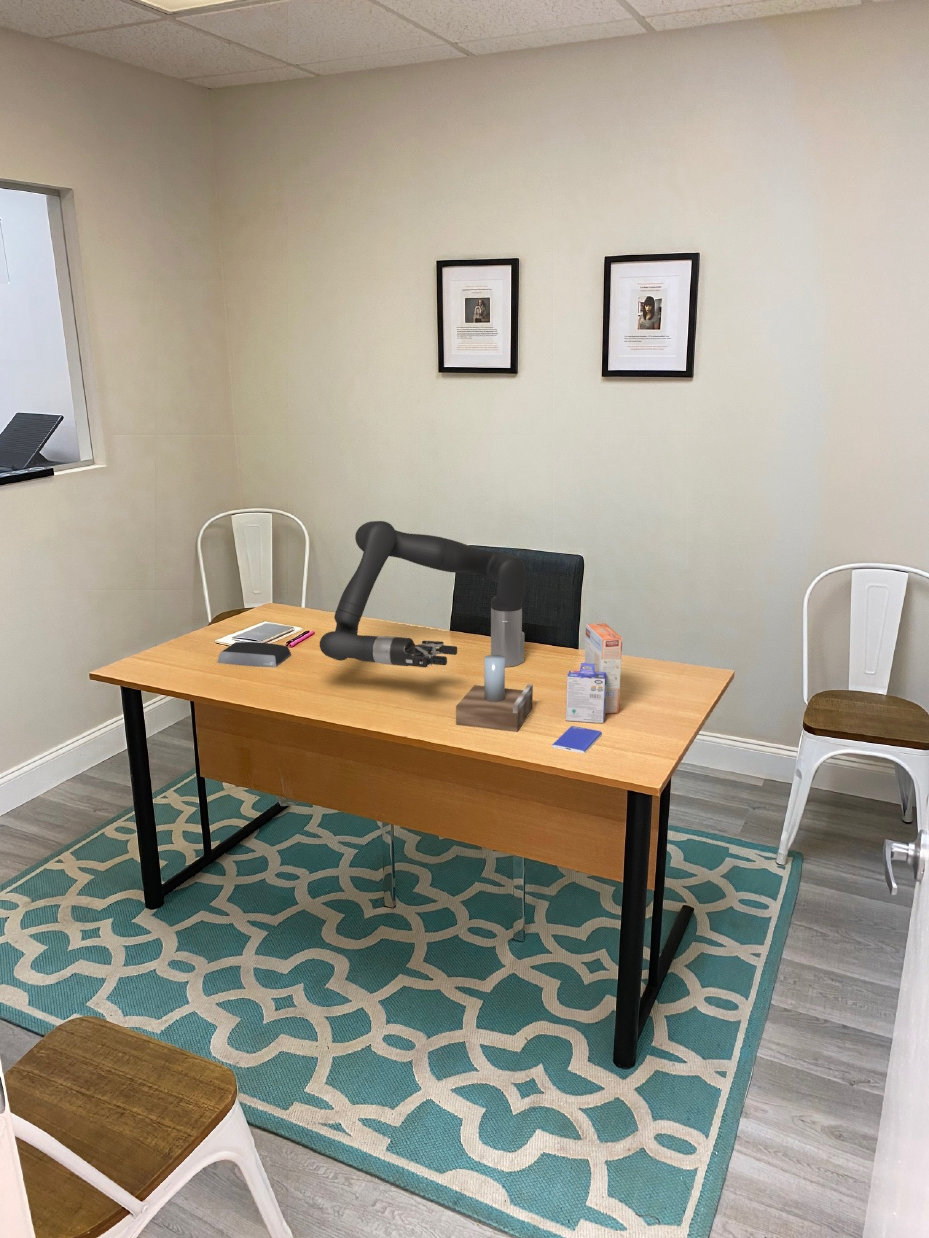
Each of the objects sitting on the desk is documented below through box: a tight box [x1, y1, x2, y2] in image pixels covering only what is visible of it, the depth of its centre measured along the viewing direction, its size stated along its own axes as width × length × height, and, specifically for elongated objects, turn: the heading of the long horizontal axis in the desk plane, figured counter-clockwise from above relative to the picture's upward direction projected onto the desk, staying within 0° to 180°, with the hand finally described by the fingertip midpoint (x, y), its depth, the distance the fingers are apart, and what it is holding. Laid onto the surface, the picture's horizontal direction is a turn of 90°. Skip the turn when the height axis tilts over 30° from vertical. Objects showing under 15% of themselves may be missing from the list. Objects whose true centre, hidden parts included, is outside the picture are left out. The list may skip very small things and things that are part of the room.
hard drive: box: [551, 725, 603, 754], centre depth 228 cm, size 2×8×12 cm
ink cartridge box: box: [565, 662, 607, 724], centre depth 239 cm, size 10×6×14 cm, turn 78°
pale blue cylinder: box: [483, 654, 506, 702], centre depth 240 cm, size 5×5×11 cm
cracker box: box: [583, 622, 623, 715], centre depth 247 cm, size 14×6×21 cm, turn 9°
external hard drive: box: [216, 641, 292, 668], centre depth 287 cm, size 13×19×4 cm
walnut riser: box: [455, 683, 534, 733], centre depth 242 cm, size 16×16×7 cm
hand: (451, 655), depth 244 cm, fingers open, 8 cm apart
